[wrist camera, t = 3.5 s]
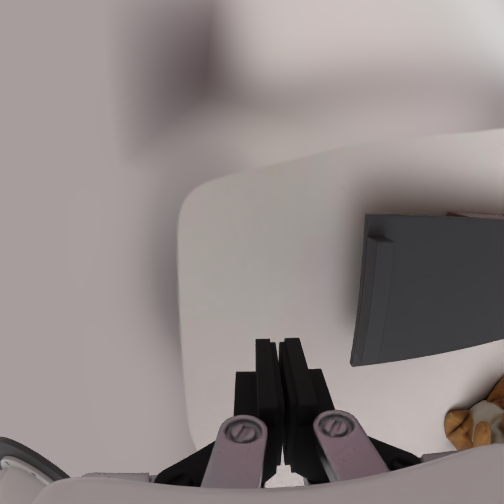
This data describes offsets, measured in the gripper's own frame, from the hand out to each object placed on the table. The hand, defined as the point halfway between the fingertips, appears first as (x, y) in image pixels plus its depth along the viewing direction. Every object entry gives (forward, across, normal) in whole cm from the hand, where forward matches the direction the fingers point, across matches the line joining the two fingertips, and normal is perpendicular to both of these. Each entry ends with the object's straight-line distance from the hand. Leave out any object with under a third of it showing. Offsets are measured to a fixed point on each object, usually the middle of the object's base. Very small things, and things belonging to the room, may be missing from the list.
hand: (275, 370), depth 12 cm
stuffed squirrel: (+12, -27, +21) cm, 36 cm away
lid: (+8, -15, 0) cm, 17 cm away
